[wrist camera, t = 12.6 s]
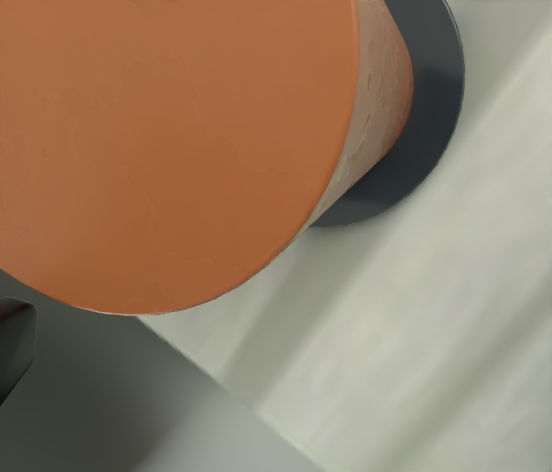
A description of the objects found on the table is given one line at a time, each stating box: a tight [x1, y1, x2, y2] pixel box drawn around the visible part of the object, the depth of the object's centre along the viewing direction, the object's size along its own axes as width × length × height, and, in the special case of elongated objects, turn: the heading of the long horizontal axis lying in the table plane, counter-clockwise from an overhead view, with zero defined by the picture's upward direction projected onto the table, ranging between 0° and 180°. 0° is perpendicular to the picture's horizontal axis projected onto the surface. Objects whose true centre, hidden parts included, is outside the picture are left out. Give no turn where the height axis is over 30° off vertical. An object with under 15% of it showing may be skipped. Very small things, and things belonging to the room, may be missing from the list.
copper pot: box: [0, 0, 414, 316], centre depth 13 cm, size 10×7×13 cm
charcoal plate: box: [309, 0, 465, 227], centre depth 19 cm, size 10×10×1 cm
